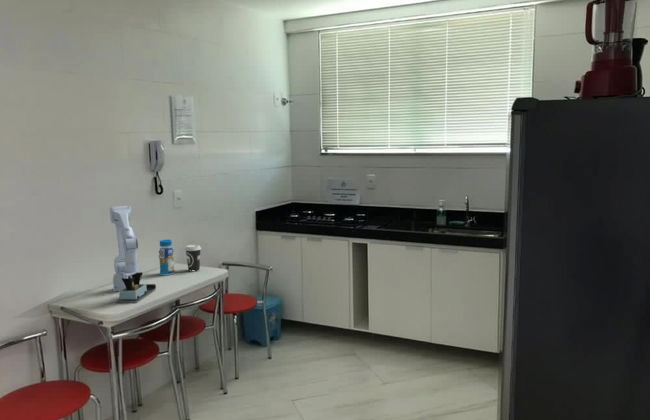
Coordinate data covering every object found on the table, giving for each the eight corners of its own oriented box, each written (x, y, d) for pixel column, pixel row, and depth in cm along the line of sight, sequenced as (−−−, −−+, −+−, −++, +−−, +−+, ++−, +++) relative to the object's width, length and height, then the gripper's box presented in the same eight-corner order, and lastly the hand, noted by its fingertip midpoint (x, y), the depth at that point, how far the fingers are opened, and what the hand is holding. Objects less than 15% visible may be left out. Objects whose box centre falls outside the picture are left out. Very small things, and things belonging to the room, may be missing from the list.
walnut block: (127, 295, 253) (126, 286, 253) (131, 293, 257) (130, 284, 257) (135, 295, 253) (134, 286, 252) (138, 293, 257) (138, 284, 256)
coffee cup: (198, 272, 305) (197, 247, 303) (183, 272, 307) (181, 247, 305) (204, 268, 315) (203, 244, 313) (190, 268, 316) (188, 244, 314)
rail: (116, 302, 248) (116, 296, 248) (137, 289, 271) (137, 284, 270) (136, 303, 248) (136, 296, 247) (155, 289, 270) (155, 284, 269)
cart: (118, 299, 250) (117, 291, 249) (129, 292, 262) (129, 284, 261) (137, 299, 249) (136, 291, 248) (148, 292, 261) (147, 284, 260)
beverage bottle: (158, 273, 305) (156, 240, 302) (173, 271, 309) (171, 238, 306) (161, 276, 297) (159, 242, 295) (176, 274, 301) (174, 240, 299)
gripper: (132, 265, 245) (134, 293, 247) (145, 259, 260) (147, 285, 262) (118, 265, 246) (120, 293, 248) (132, 258, 260) (133, 285, 262)
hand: (133, 289), depth 255 cm, fingers open, 7 cm apart
